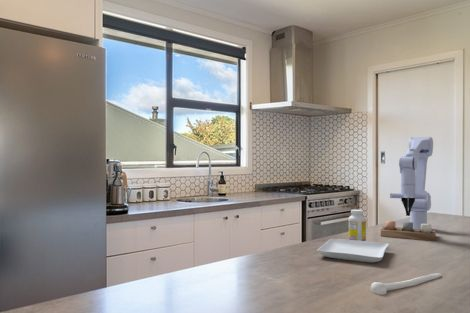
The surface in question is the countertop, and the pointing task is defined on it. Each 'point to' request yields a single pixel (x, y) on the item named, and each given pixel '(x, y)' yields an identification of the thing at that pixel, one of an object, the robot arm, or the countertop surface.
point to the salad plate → (353, 250)
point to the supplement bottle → (357, 226)
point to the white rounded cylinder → (426, 228)
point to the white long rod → (401, 284)
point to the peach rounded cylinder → (390, 225)
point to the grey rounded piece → (407, 226)
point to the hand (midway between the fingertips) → (408, 215)
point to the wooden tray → (408, 234)
